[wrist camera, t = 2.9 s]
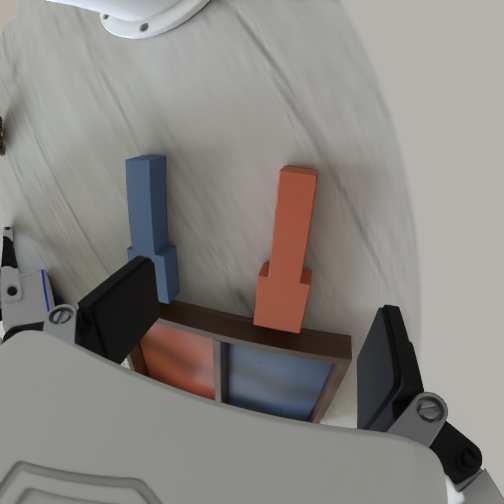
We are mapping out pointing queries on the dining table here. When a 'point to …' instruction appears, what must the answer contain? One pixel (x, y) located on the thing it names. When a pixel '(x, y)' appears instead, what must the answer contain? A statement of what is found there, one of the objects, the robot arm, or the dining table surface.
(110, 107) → the dining table surface
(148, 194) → the blue tall stepped post
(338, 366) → the cutlery tray
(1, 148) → the shark head
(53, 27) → the dining table surface
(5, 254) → the robotic device
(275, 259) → the orange stepped bar
